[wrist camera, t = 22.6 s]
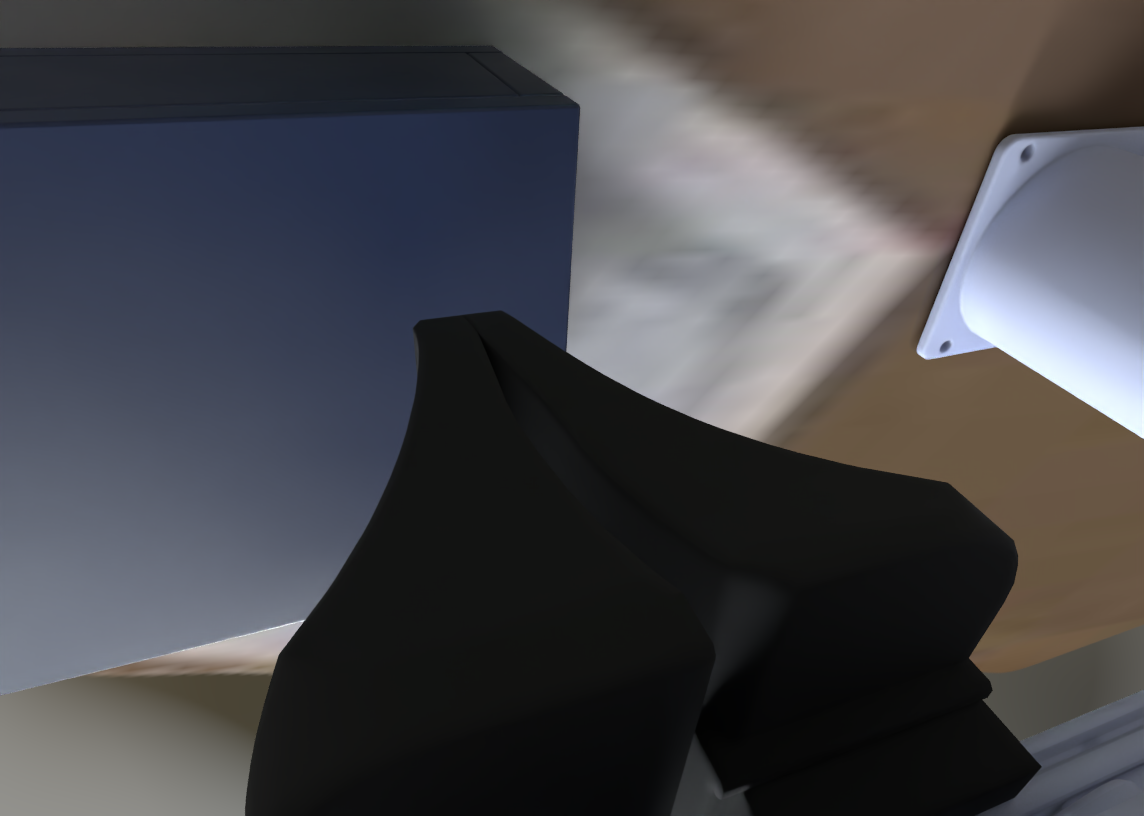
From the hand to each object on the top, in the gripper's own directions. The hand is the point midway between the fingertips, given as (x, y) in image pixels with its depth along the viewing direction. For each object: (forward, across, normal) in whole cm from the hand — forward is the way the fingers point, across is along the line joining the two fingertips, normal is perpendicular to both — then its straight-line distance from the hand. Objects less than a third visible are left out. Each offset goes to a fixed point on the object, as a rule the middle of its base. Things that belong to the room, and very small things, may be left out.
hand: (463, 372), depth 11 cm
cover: (+3, +4, +2) cm, 6 cm away
